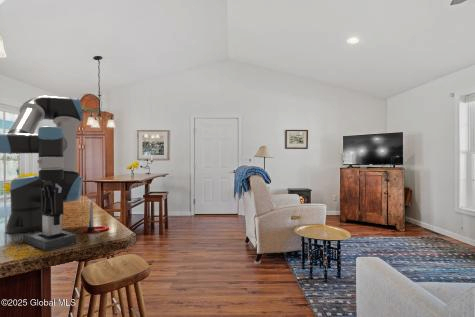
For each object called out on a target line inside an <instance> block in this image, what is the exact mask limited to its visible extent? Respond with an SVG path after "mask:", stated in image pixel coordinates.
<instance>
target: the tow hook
mask: <svg viewBox="0 0 475 317" xmlns="http://www.w3.org/2000/svg"><path fill="white" fill-rule="evenodd" d="M93 204H94V202H93V201H91V202H90V207H89V222H88V226H87V228H84V229H83V230H82V233H85V234H100V232H101V233H102V232H104V231H105V232H106V231H109V228H110V227H109V226H108V225H107V226H106V225H96V226H94V205H93Z"/></svg>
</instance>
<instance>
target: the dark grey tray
mask: <svg viewBox="0 0 475 317" xmlns="http://www.w3.org/2000/svg"><path fill="white" fill-rule="evenodd" d="M77 235H78V234H76V233H72V232H69V231H66V230H63V229H62V233H60V234H55V235H51V236H46V235H43V229H41V230H37V231H31V232H25V233H24V242H25V243H27V244H29V245H31V246H32V247H36V248H38V249H40V250H42V251H45V252H46V251H50V250H55V249H58V248H62V247H65V246H70V245H74V244H77Z"/></svg>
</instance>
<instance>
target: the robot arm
mask: <svg viewBox="0 0 475 317" xmlns="http://www.w3.org/2000/svg"><path fill="white" fill-rule="evenodd" d="M43 120H48V121H51V120H52V122H53V124H55V125H56V126H49V125H48V126H47V125H44V126H43V125H42V126H40V127H38V126H39V123H40V122H41V121H42V122H43ZM83 121H84V115H83V107H82V102H81V100H80V99H79V98H78V97H77V98H76V97H68V96H67V97H64V96H52V95H51V96H50V95H40V96H37V97H32V98H31V99H29V100H27V101H25V102H24V103H23V104H22V105H21V106H20V109H19V114H18V116H17V118H16V119H15V120H14V122H13V124H12V125H11V127H10V128H9V130H8V131H7V133H6V132H1V133H0V154H9V155H11V154H15V155H16V154H38V159H37V161H36V162H37V163H38V169H40V170H38V175H30V176H25V177H23V176H22V177H18V178H14V179H12V180H11V181H10V189H9V192H10V193H9V194H10V214H9V217H8V220H7V223H6V224H5V225H6V226H5V232H6V233H7V234H21V233H22V234H25V233H31V232H36V231H41V230H43V222H42V215H46V214H52V215H50V217H51V235H54V234H58V233H60V215H61V214H62V215H63V214H64V203H70V202H77V201H78V200H80V199H81V196H82V191H83V180H84V179H83V177H82V176H81V175H80V172H79V171H77V130H78V127H79V126H80V124H81V122H83ZM37 127H38V130H37ZM36 130H37V133H35V132H36Z"/></svg>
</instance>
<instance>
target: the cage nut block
mask: <svg viewBox="0 0 475 317" xmlns="http://www.w3.org/2000/svg"><path fill="white" fill-rule="evenodd" d="M50 215H52V213H51V214H46V215H42V222H43V229H42V230H43V235H46V236H51V217H50ZM62 230H63V214H61V215H60V233H62ZM60 233H58V234H60ZM54 235H55V234H54Z"/></svg>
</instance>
